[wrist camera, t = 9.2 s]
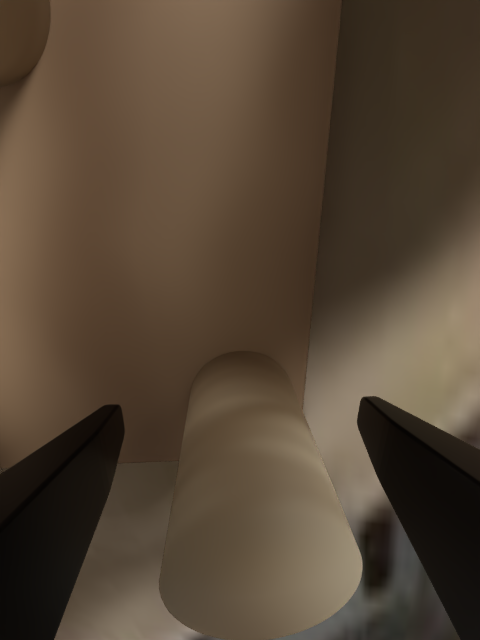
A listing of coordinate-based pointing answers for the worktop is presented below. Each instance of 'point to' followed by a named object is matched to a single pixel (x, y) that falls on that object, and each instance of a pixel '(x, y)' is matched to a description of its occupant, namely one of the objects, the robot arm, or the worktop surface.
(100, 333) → the board
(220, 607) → the maple peg
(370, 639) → the worktop surface
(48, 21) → the peg
